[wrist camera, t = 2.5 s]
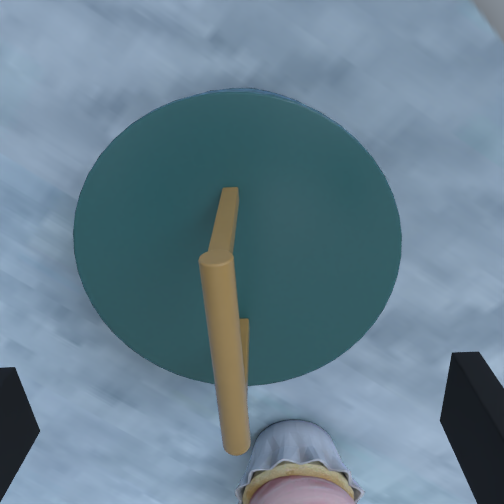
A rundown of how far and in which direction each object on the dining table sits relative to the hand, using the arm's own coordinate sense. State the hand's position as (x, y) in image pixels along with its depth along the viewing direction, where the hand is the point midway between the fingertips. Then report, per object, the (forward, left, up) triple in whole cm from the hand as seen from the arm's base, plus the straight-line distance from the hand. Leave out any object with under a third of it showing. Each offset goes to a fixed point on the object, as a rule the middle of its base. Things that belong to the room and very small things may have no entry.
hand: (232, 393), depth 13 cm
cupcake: (+11, -17, -15) cm, 25 cm away
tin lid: (0, 0, -9) cm, 9 cm away
